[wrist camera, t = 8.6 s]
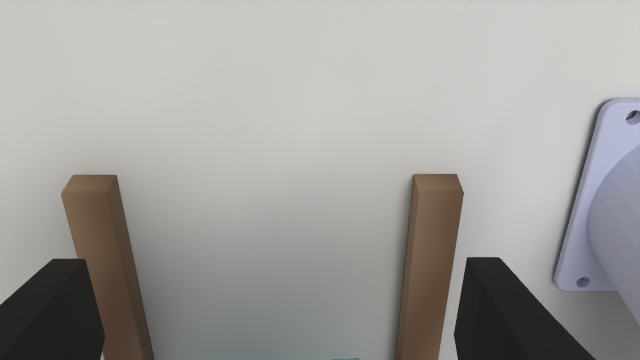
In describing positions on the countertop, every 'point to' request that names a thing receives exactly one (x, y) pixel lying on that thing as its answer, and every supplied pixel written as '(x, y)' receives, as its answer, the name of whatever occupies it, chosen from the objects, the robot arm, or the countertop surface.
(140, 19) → the countertop surface
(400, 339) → the guide lane
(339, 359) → the block
